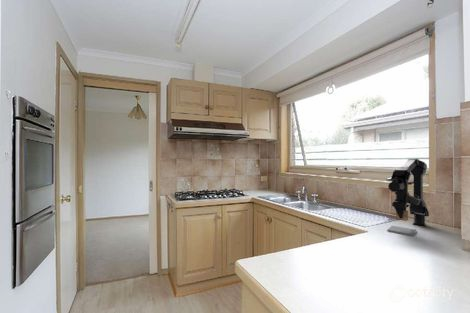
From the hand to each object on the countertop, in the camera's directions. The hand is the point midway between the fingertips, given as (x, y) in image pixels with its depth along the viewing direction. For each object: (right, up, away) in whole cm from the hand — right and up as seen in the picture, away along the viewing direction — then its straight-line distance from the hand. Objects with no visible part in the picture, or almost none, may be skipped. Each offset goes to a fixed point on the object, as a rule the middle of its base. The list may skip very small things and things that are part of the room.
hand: (402, 217), depth 137 cm
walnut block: (0, -1, 0) cm, 1 cm away
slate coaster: (0, -8, 0) cm, 8 cm away
